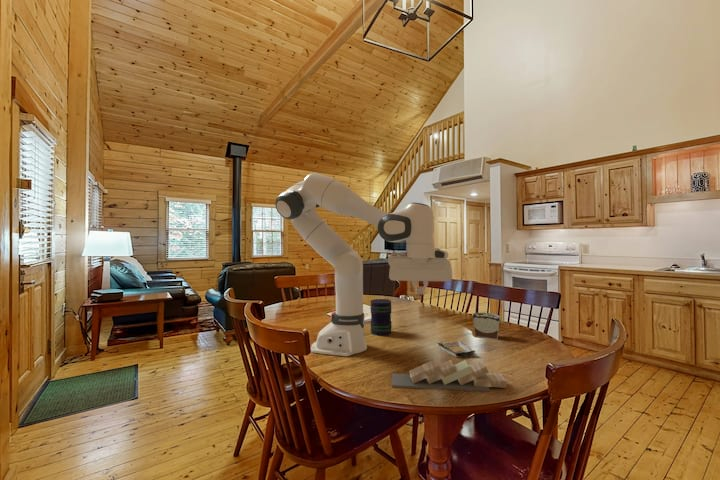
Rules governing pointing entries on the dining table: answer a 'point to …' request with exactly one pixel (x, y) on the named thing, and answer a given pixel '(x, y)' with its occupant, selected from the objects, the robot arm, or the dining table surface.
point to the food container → (486, 325)
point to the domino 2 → (442, 371)
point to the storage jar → (381, 317)
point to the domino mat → (432, 384)
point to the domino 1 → (424, 371)
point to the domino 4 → (490, 380)
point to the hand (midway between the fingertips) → (419, 294)
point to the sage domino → (458, 372)
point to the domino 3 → (474, 372)
